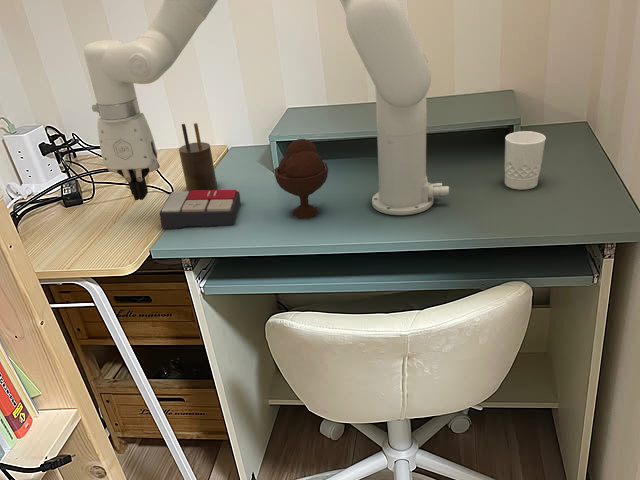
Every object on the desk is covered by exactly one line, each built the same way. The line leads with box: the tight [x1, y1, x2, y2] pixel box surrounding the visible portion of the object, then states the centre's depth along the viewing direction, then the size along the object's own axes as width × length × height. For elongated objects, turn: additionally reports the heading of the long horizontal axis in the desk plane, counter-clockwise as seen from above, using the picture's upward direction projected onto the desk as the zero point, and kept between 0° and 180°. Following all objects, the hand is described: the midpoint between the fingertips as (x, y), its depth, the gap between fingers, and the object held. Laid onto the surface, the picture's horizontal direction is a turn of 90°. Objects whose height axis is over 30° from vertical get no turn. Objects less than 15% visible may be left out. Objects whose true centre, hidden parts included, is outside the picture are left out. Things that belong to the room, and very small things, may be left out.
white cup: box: [504, 130, 547, 191], centre depth 134 cm, size 8×8×10 cm
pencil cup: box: [178, 122, 218, 192], centre depth 145 cm, size 7×7×16 cm
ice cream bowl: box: [274, 138, 329, 219], centre depth 129 cm, size 11×11×15 cm
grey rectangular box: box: [159, 189, 242, 230], centre depth 135 cm, size 11×4×15 cm
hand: (141, 197), depth 135 cm, fingers closed
